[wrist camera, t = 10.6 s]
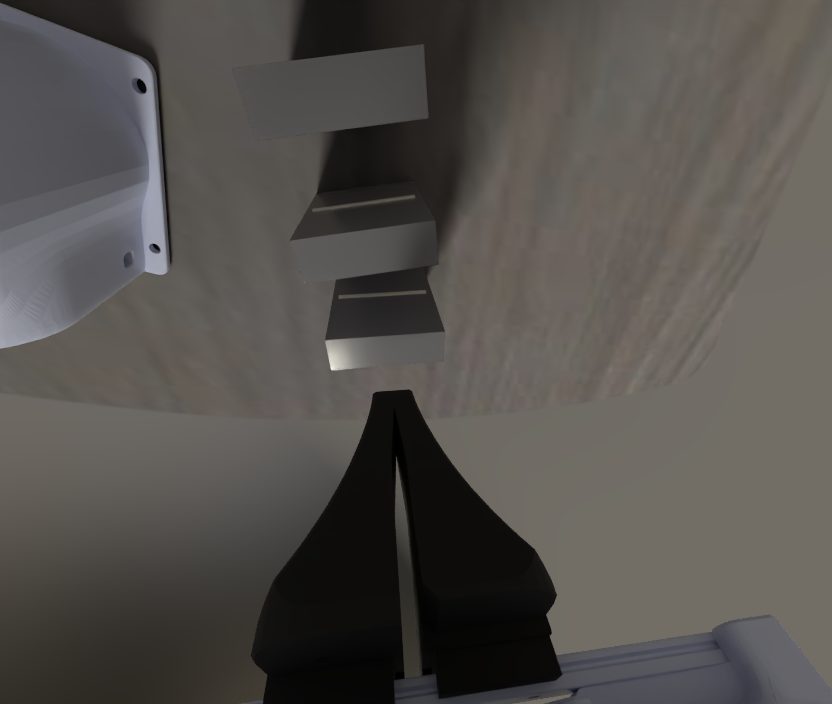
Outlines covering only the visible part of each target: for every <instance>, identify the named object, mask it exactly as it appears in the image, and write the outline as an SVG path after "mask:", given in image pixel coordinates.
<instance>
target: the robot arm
mask: <svg viewBox="0 0 832 704" xmlns="http://www.w3.org/2000/svg"><path fill="white" fill-rule="evenodd" d="M138 79H141V80H142V81H143V82H144V83H145V85H146V88H147V91H146V93H145V94H144V93H142V92H141V91H140V90H139V88H138V86H137V80H138ZM153 244H156V245H158V246H159V247H160V250H161V251H158V250H156V249H155V248H154V247H153ZM169 269H170V257H169V243H168V229H167V215H166V201H165V187H164V173H163V159H162V145H161V131H160V117H159V103H158V89H157V76H156V72H155V70H154V68H153V66H152V65H151V64H150V63H149V61H148V60H146V59H145V58H143V57H141V56H139V55H136V54H134V53H131V52H128V51H126V50H123V49H121V48H118V47H115V46H113V45H110V44H107V43H105V42H102V41H100V40H97V39H94V38H92V37H89V36H86V35H84V34H81V33H79V32H76V31H73V30H71V29H68V28H65V27H63V26H60V25H58V24H55V23H52V22H50V21H47V20H44V19H42V18H39V17H37V16H34V15H31V14H29V13H26V12H23V11H21V10H18V9H16V8H13V7H10V6H8V5H5V4H2V3H0V348H6V347H11V346H15V345H20V344H24V343H28V342H32V341H35V340H38V339H42V338H45V337H48V336H50V335H53V334H56V333H58V332H60V331H62V330H64V329H66V328H68V327H70V326H72V325H73V324H75V323H76V322H78V321H79V320H80V319H82V318H83V317H84V316H86V315H87V314H88V313H90V312H91V311H92V310H94V309H95V308H96V307H98V306H99V305H100V304H102V303H103V302H104V301H106V300H107V299H108V298H110V297H111V296H112V295H114V294H115V293H116V292H118V291H119V290H120V289H122V288H123V287H124V286H126V285H127V284H128V283H130V282H131V281H132V280H134V279H135V278H136V277H138V276H139V275H140V274H142V273H143V272H144V271H145V272H149V273H154V274H159V275H162V274H165V273H166V272H168V271H169ZM396 457H397V462H398V468H399V474H400V480H401V486H402V491H403V498H404V503H405V509H406V516H407V523H408V535H409V547H410V559H411V569H412V570H411V571H412V583H413V596H414V608H415V621H416V633H417V645H418V659H419V673H420V676H419V677H412V678H406V679H405V678H404V663H403V643H402V625H401V611H400V593H399V577H398V563H397V562H398V561H397V545H396V529H395V484H396ZM556 596H557V594H556V592H555V588H554V585H553V583H552V580H551V578H550V576H549V574H548V572H547V570H546V568H545V566H544V564H543V563H542V561H541V559H540V558H539V556H538V554H537V552H536V551H535V549H534V548H533V547H531V546H530V545H529V544H528V543H527V542H526V541H525V540H523V539H522V538H521V537H520V536H519V535H518V534H517V533H516V532H514V531H513V530H512V529H511V528H510V527H509V526H508V525H507V524H506V523H505V522H504V521H503V520H502V519H501V518H500V517H499V516H498V515H497V514H496V513H495V512H493V510H492V509H491V508H490V507H489V506H488V505H487V504H486V503H485V502H484V501H483V500H482V499H481V498H480V496H479V495H478V494H477V493H476V492H475V491H474V490H473V489H472V488H471V487H470V485H469V484H468V483H467V482H466V481H465V479H464V478H463V477H462V476H461V474H460V473H459V472H458V471H457V469H456V468H455V467H454V465H453V464H452V463H451V461H450V460H449V459H448V457H447V456H446V454H445V453H444V451H443V450H442V448H441V447H440V445H439V444H438V442H437V441H436V439H435V438H434V436H433V434H432V432H431V431H430V429H429V427H428V426H427V424H426V422H425V420H424V418H423V416H422V414H421V412H420V410H419V408H418V406H417V404H416V401H415V399H414V396H413V393H412V391H411V390H396V391H382V392H375V393H374V394H373V398H372V404H371V409H370V413H369V416H368V419H367V423H366V425H365V428H364V431H363V434H362V437H361V439H360V442H359V444H358V447H357V449H356V451H355V453H354V456H353V458H352V461H351V463H350V465H349V467H348V469H347V471H346V473H345V475H344V477H343V479H342V481H341V482H340V484H339V486H338V488H337V490H336V491H335V493H334V495H333V496H332V498H331V500H330V502H329V503H328V505H327V507H326V508H325V510H324V511H323V513H322V514H321V516H320V518H319V519H318V520H317V522H316V523H315V525H314V526H313V528H312V529H311V531H310V532H309V534H308V535H307V537H306V538H305V540H304V541H303V542H302V544H301V545H300V547H299V548H298V549H297V551H296V552H295V553H294V554H293V556H292V557H291V558H290V560H289V561H288V562H287V564H286V565H285V566H284V567H283V569H282V570H281V571H280V573H279V574H278V575H277V576H276V578H275V579H274V581H273V583H272V585H271V588H270V590H269V592H268V595H267V597H266V600H265V602H264V605H263V608H262V611H261V615H260V617H259V621H258V624H257V629H256V633H255V638H254V643H253V648H252V652H251V657H252V659H253V661H254V662H255V664H256V665H257V666H258V667H260V668H261V669H262V670H263V671H264V672H265V673H266V674H267V675H268V676H267V682H266V688H265V693H264V699H263V700H261V701H255V702H248V703H242V704H512V703H518V702H525V701H531V700H537V699H543V698H549V697H555V696H561V695H567V694H571V696H570V697H569V698H565V699H561V700H557V701H554V702H549V703H546V704H832V688H831V687H830V686H829V685H828V683H827V682H826V681H825V680H824V678H823V677H822V676H821V675H820V673H819V672H818V671H817V670H816V668H815V667H814V666H813V664H812V663H811V662H810V661H809V660H808V658H807V657H806V656H805V654H804V653H803V652H802V651H801V649H800V648H799V647H798V646H797V644H796V643H795V642H794V640H793V639H792V638H791V637H790V635H789V634H788V633H787V632H786V630H785V629H784V628H783V627H782V625H781V624H780V623H779V621H778V620H777V619H776V618H775V617H774V616H772V615H763V616H757V617H750V618H743V619H737V620H732V621H728V622H725V623H723V624H721V625H719V626H717V627H715V628H714V629H713V630H712V632H707V633H701V634H694V635H688V636H681V637H675V638H668V639H661V640H655V641H648V642H642V643H636V644H629V645H622V646H615V647H609V648H602V649H596V650H589V651H583V652H577V653H570V654H563V655H556V654H555V651H554V648H553V645H552V642H551V639H550V636H549V635H551V633H552V632H551V628H550V625H549V622H548V619H547V616H546V614H547V612H548V611H549V610H550V608H551V607H552V605H553V604H554V602H555V599H556Z"/></svg>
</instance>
